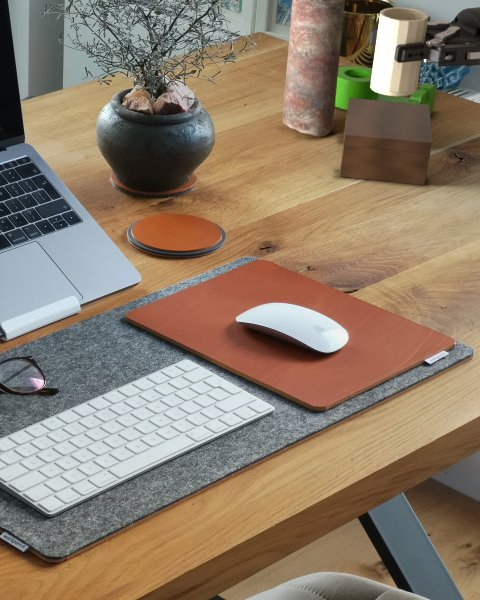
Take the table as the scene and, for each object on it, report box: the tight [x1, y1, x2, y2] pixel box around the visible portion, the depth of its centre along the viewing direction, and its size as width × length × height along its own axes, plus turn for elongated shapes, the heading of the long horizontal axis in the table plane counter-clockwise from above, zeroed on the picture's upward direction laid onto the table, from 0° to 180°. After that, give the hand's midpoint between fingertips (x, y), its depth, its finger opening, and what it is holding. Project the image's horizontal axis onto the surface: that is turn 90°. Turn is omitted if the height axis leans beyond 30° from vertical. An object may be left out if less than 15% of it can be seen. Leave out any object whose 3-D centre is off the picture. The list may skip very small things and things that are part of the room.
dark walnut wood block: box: [338, 98, 433, 186], centre depth 152 cm, size 11×14×6 cm
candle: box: [282, 0, 346, 138], centre depth 158 cm, size 8×7×20 cm
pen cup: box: [370, 6, 429, 97], centre depth 145 cm, size 6×6×10 cm
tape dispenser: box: [335, 65, 438, 115], centre depth 169 cm, size 15×7×5 cm, turn 54°
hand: (383, 45), depth 144 cm, fingers closed on pen cup, 6 cm apart
